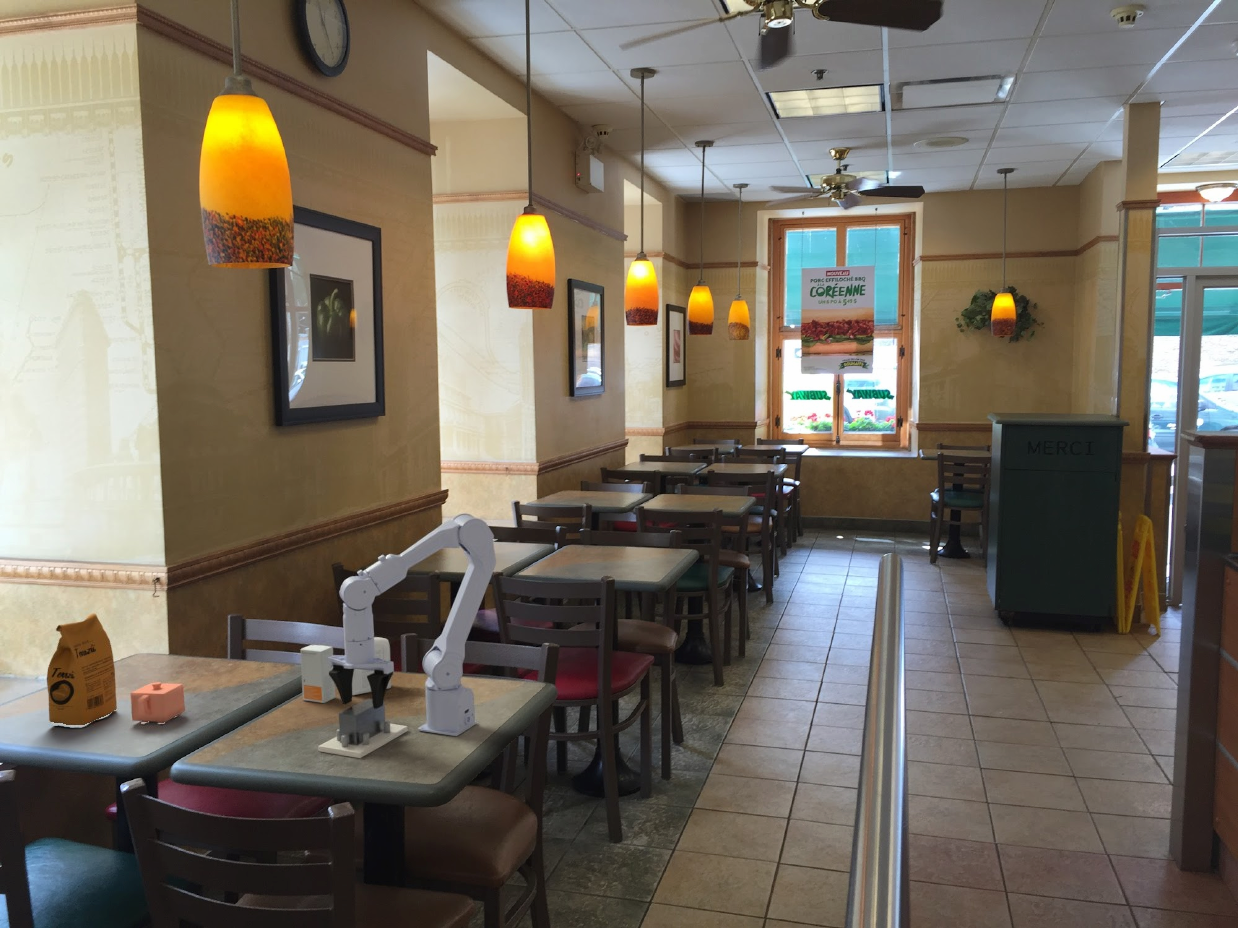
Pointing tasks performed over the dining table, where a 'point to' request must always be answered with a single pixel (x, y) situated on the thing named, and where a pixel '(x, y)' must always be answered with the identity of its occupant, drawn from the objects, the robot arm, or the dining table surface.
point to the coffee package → (81, 674)
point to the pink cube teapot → (157, 702)
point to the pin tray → (367, 744)
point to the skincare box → (317, 673)
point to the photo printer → (360, 676)
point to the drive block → (361, 721)
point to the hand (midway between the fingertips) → (362, 704)
